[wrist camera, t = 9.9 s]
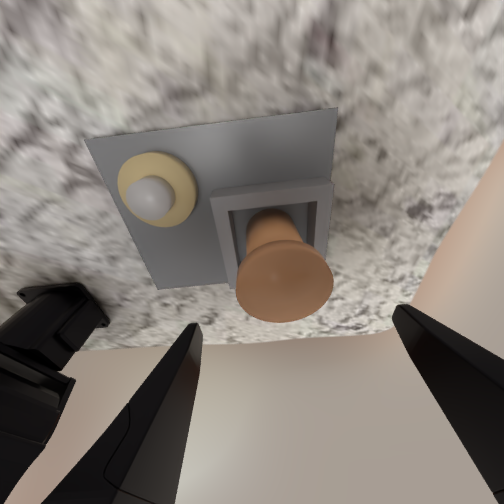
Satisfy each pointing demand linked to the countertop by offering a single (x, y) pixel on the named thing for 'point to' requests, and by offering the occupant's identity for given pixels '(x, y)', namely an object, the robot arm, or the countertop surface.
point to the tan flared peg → (280, 271)
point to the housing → (218, 189)
